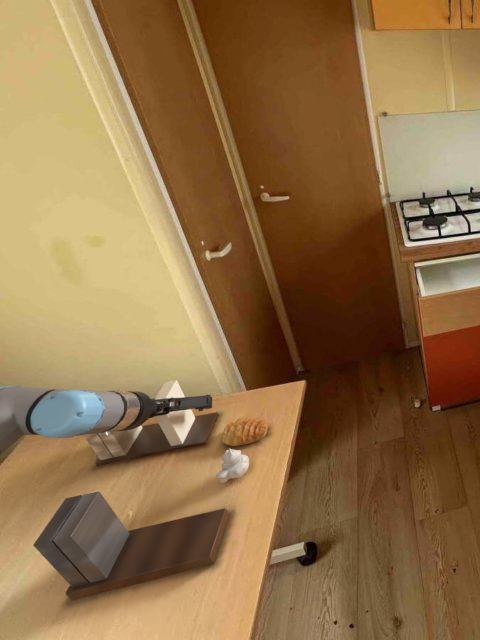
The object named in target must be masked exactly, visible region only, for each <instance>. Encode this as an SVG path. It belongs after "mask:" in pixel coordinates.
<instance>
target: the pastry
mask: <svg viewBox="0 0 480 640" xmlns="http://www.w3.org/2000/svg"><path fill="white" fill-rule="evenodd" d="M267 433H268V425H267V424H266V423H264V422H262V420H257V419H255V418H253V419H252V418H248V417H247V418H243V417H241V418H238V419H237V420H230V421H228V423H226V425H225V427H224V429H223V432H222V436H221V442H222V443H223V444H225V445H228V446H229V447H230V446H231V447H233V446H235V447H238V446H242V445H247V444H251V443H252V444H253V443H255V442H258V441H260V440H262V439H263V438H265V436H266V434H267Z"/></svg>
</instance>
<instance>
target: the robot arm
mask: <svg viewBox="0 0 480 640" xmlns="http://www.w3.org/2000/svg"><path fill="white" fill-rule="evenodd" d="M162 402H163V403H162ZM161 408H162V409H163V412H162V413H159V412H161V411H162V409H161ZM188 409H191V410H198V412H203V411H204V410H210V409H213V396H212V395H211V394H206V395H205V394H204V395H194V396H185V397H182V398H165V399H155V398H151V396H149V395H148V394H147V393H144V392H142V391H136V390H135V391H134V390H133V391H132V390H128V391H127V390H121V391H113V390H86V389H70V388H69V389H67V388H66V389H65V388H42V387H29V386H22V385H9V386H8V385H2V386H0V456H2V455H3V454H4V453H5V452H6V451H8V450H9V449H10V448H11V447H12V446H13V445H15V444H16V442H18V441H19V440H20V439H21V438H23V436H41V437H43V438H49V439H52V438H53V439H70V438H74V437H78V436H84V435H87V434H95V433H104V435H105V436H109V435H111V432H113V431H125V430H131V429H135V428H137V427H139V426H140V425H141V426H143V424H144V423H146V422H147V421H148V420H149V419H152V418H155V416H161V415H166V414H169V412H173V411H181V410H188Z"/></svg>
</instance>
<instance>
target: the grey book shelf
mask: <svg viewBox="0 0 480 640" xmlns="http://www.w3.org/2000/svg"><path fill="white" fill-rule="evenodd" d="M230 517H231V514H230V513H229V511H228V509H227V507H224V508H220V509H216V510H212V511H207V512H203V513H198V514H193V515H190V516H186V517H181V518H176V519H173V520H168V521H164V522H160V523H156V524H151V525H146V526H143V527H138V528H133V529H130V530H128V528H127V527H126V526H125V525H124V523H123V522H122V520H121V519H120V518H119V517H118V515H117V513H116V512H115V511H114V509H113V508H112V507H111V505H110V504H109V502H108V501H107V500H106V499H105V497H104V496H103V494H102V492H100V491H99V490H98V491H93V492H88V493H84V494H79V495H75V496H69V497H65V498H64V500H63V501H62V502H61V504H60V506H59V507H58V508H57V510H56V511H55V513H54V514H53V516H52V517H51V518H50V519H49V521H48V523H47V524H46V526H45V527H44V529H43V530H42V531H41V533H40V534H39V536H38V537H37V539H36V540H35V541H34V543H33V545H32V546H33V547H34V548H35V550H37V551H38V553H40V555H41V556H42V557H43V558H44V559H45V560H46V561H47V562H48V563H49V564H50V566H52V567H53V568H54V570H56V573H58V574H59V575H60V576H61V577H62V578H63V579H64V581H65V582H67V584H68V585H69V586H68V588H67V589H66V591H65V593H64V594H65V595H66V597H68V598H69V599H70V601H71V602H72V601H77V600H80V599H85V598H88V597H93V596H96V595H97V596H98V595H101V594H104V593H107V592H113V591H115V590H116V591H117V590H119V589H123V588H127V587H131V586H135V585H138V584H143V583H146V582H150V581H154V580H158V579H162V578H165V577H169V576H173V575H177V574H178V575H179V574H181V573H186V572H189V571H193V570H197V569H200V568H205V567H209V566H213V565H215V563H216V560H217V557H218V553H219V550H220V547H221V544H222V541H223V538H224V534H225V531H226V529H227V525H228V523H229V519H230Z"/></svg>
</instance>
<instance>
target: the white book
mask: <svg viewBox="0 0 480 640" xmlns="http://www.w3.org/2000/svg"><path fill="white" fill-rule="evenodd" d="M182 397H186V396H185V394H184V392H183V390H182V388H181V386H180V383H179V382H178V380H177V379H176V380H169V381H165V382H164V383H163V385H162V387H161V388H160V390H159V391H158V393H157V394H156V396H155V398H154V399H165V398H182ZM162 403H163V402H162ZM161 409H162V408H161ZM162 412H163V409H162V411H161V412H159V413H162ZM195 416H196V415H195V414H194V412H193V409H188V410H181V411H173V412H169V414H166V415H161V416H155V417H154V418H155V420H156V422H157V423H159V425H160V427H161V429H162V430H163V432H164V434H165V436H166V438H167V439H168V441H169V443H170V445H171V446H175V445H180V444H183V442H184V440H185V438H186V436H187V434H188V432H189V430H190V428H191V426H192V424H193V422H194V420H195Z"/></svg>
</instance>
